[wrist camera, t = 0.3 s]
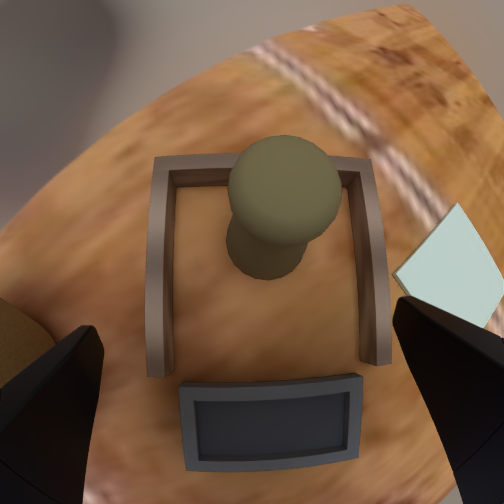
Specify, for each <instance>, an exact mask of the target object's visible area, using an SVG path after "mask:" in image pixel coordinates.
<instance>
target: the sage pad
mask: <svg viewBox="0 0 504 504" xmlns="http://www.w3.org/2000/svg"><path fill="white" fill-rule="evenodd" d="M392 275H393V276H394V278H395V279H396V280H397V282H398V283H399V285H400V286H401V287H402V289H403V290H404V292H405V293H406V294H407V296H409V295H410V296H413V297H416V298H418V299H420V300H422V301H425V302H427V303H429V304H431V305H433V306H436V307H438V308H440V309H442V310H444V311H447V312H449V313H451V314H453V315H455V316H457V317H460V318H462V319H464V320H466V321H468V322H470V323H473V324H475V325H477V326H479V327H481V328H484V326H485V325H486V323H487V322H488V320H489V318H490V317H491V315H492V314H493V312H494V310H495V308H496V307H497V305H498V303H499V302H500V300H501V298H502V296H503V294H504V279H503V277H502V275H501V273H500V271H499V270H498V268H497V266H496V264H495V262H494V260H493V258H492V257H491V255H490V253H489V251H488V250H487V248H486V246H485V244H484V243H483V241H482V239H481V238H480V236H479V234H478V233H477V231H476V230H475V228H474V226H473V225H472V223H471V222H470V220H469V219H468V217H467V216H466V214H465V213H464V211H463V210H462V208H461V207H460V205H459V204H458V203H456V204H454V206H453V207H452V208H451V209H450V210H449V212H448V213H447V214H446V215H445V217H444V218H443V219H442V220H441V221H440V223H439V224H438V225H437V226H436V227H435V228H434V230H433V231H432V232H431V233H430V234H429V235H428V236H427V238H426V239H425V240H424V241H423V242H422V243H421V244H420V246H419V247H418V248H417V249H416V250H415V251H414V252H413V253H412V254H411V255H410V256H409V258H408V259H407V260H406V261H405V262H404V263H403V264H402V265H401V266H400V267H399V268H398V269H397V270H396V271H395V272H394V273H393V274H392Z"/></svg>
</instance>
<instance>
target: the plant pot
mask: <svg viewBox="0 0 504 504" xmlns="http://www.w3.org/2000/svg"><path fill="white" fill-rule="evenodd" d="M54 345H56V344H55V341H54V340H53V338H52V337H51V335H50V334H49V333H48V332H47V331H46V330H45V329H44V328H43V327H42V326H41V325H39V324H38V323H37V322H35V321H34V320H33V319H31V318H30V317H28V316H27V315H26V314H24V313H23V312H21V311H20V310H18V309H17V308H15V307H14V306H12V305H10V304H9V303H7V302H6V301H4V300H3V299H1V298H0V388H2V386H3V385H5V384H6V383H7V382H8V381H10V380H11V379H12V378H13V377H15V376H16V375H17V374H18V373H20V372H21V371H22V370H23V369H25V368H26V367H27V366H28V365H30V364H31V363H32V362H34V361H35V360H36V359H37V358H39V357H40V356H41V355H43V354H44V353H45V352H47V351H48V350H49V349H50V348H52V347H53V346H54Z"/></svg>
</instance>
